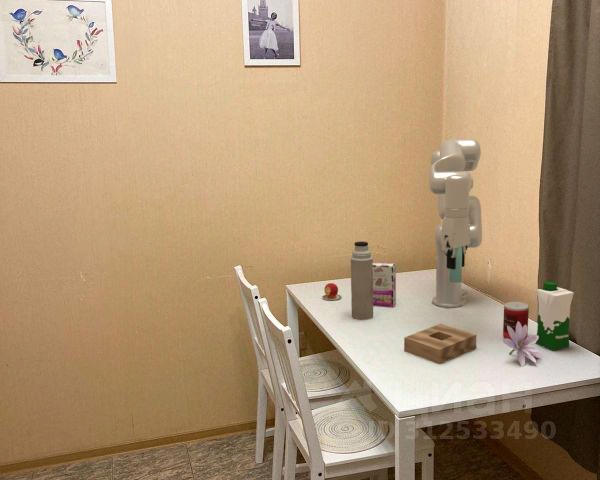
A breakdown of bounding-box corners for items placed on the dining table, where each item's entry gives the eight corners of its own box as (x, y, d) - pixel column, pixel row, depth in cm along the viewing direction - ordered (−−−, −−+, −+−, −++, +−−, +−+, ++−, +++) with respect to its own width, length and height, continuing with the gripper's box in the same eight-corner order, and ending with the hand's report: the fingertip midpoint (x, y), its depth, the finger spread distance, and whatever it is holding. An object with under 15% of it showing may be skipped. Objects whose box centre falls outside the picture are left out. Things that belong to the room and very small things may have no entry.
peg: (454, 278, 210) (455, 232, 206) (464, 280, 207) (465, 233, 203) (446, 281, 207) (447, 233, 204) (456, 283, 204) (457, 235, 201)
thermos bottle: (374, 313, 234) (373, 240, 228) (372, 320, 226) (371, 244, 220) (352, 312, 235) (351, 239, 230) (350, 319, 228) (349, 244, 222)
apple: (342, 300, 250) (341, 285, 249) (322, 301, 250) (321, 285, 249) (341, 295, 258) (340, 279, 257) (321, 295, 258) (321, 280, 257)
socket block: (440, 336, 208) (440, 323, 207) (476, 348, 197) (476, 334, 196) (404, 350, 197) (404, 337, 196) (439, 363, 186) (439, 349, 185)
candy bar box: (396, 303, 244) (396, 263, 240) (393, 307, 239) (393, 266, 236) (368, 301, 248) (368, 261, 245) (365, 305, 244) (364, 264, 240)
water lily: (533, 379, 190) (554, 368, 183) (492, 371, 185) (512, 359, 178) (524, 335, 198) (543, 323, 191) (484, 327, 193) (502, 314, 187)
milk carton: (552, 338, 203) (555, 279, 199) (574, 347, 195) (577, 286, 191) (531, 343, 200) (534, 283, 195) (552, 352, 191) (556, 290, 187)
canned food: (527, 334, 208) (528, 302, 205) (527, 342, 200) (529, 309, 198) (503, 332, 210) (504, 300, 208) (502, 340, 203) (503, 308, 201)
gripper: (462, 208, 210) (461, 261, 214) (430, 215, 200) (430, 270, 204) (481, 210, 204) (480, 264, 208) (449, 217, 194) (448, 274, 198)
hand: (455, 266), depth 206 cm, fingers closed on peg, 4 cm apart
